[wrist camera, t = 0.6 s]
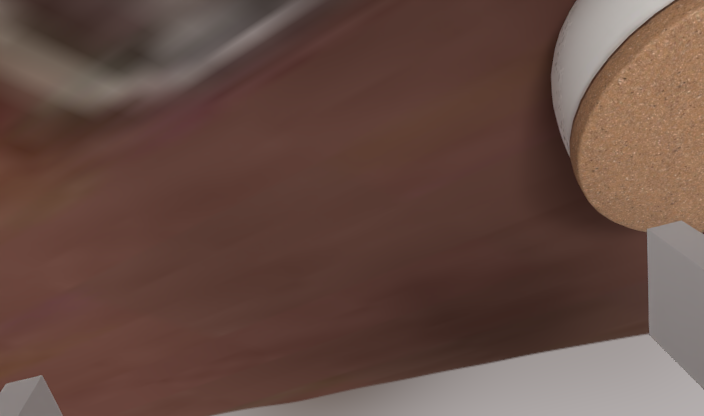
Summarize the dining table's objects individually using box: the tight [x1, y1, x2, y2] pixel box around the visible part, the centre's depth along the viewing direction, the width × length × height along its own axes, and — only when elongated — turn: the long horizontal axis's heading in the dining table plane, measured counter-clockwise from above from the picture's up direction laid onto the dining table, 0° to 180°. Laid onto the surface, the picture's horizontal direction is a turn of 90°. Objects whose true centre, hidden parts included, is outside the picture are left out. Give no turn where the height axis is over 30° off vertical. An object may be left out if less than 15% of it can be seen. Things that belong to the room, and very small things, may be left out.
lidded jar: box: [551, 0, 704, 232], centre depth 22 cm, size 11×11×9 cm
